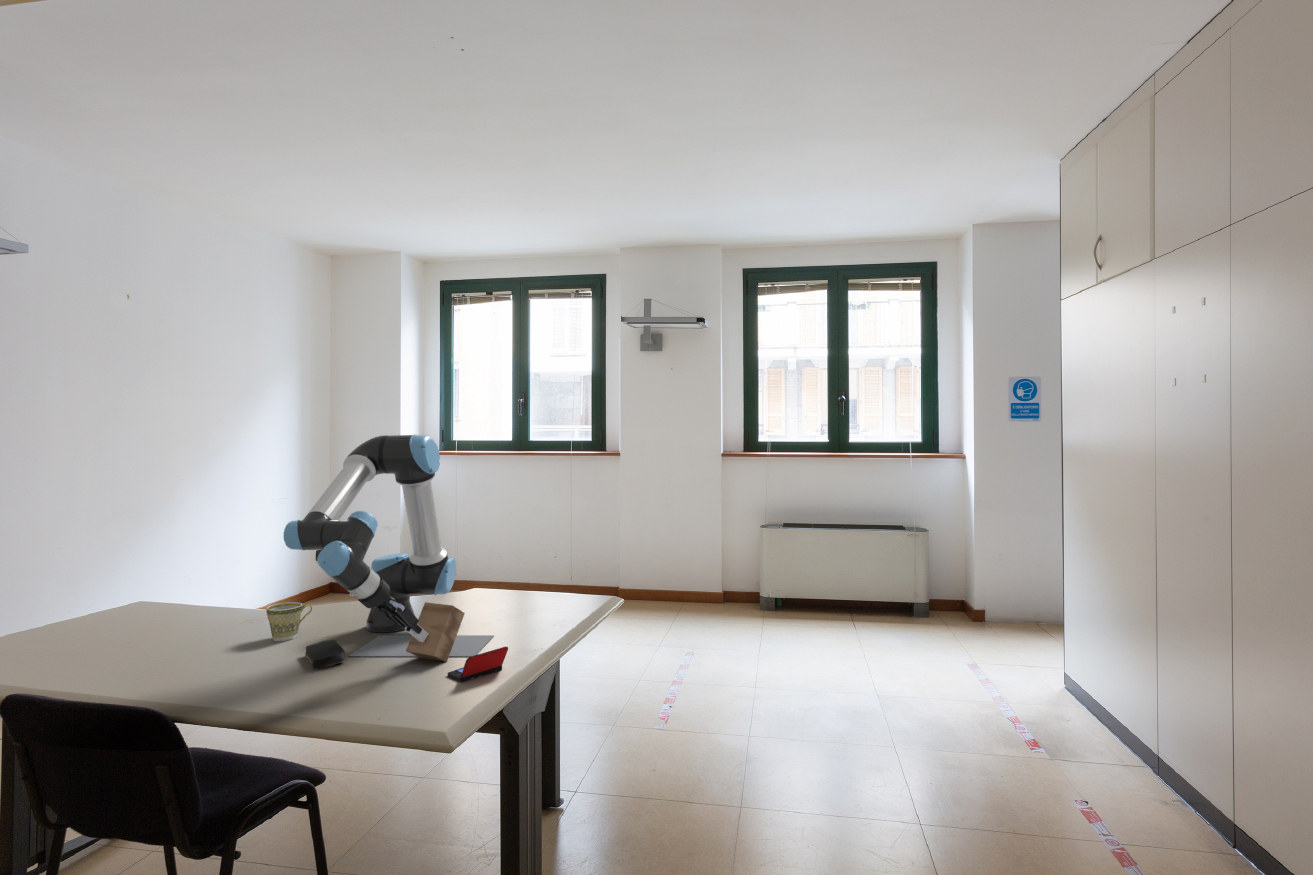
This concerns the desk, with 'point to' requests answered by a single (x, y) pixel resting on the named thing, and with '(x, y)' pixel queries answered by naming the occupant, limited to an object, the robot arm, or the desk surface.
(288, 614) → the ceramic cup
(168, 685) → the desk surface
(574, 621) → the desk surface
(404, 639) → the felt pad
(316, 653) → the black sponge
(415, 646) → the walnut block
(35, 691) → the desk surface
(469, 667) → the handheld game console
